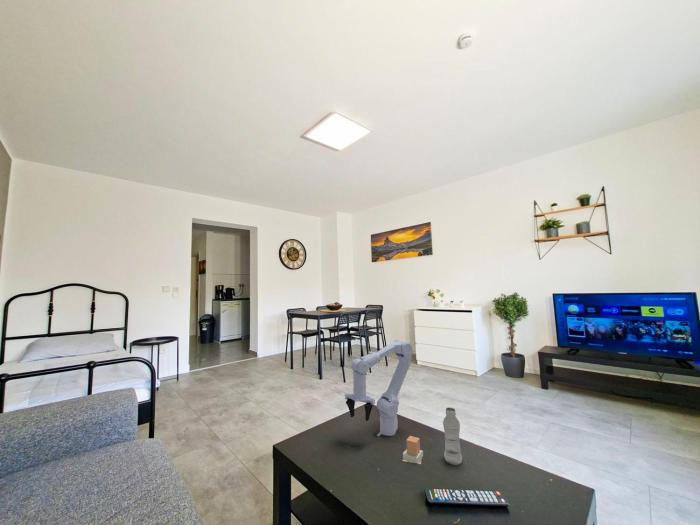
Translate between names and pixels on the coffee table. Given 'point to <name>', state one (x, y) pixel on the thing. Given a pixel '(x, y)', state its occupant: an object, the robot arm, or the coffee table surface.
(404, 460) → the bottom slab
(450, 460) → the plastic bottle
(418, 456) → the top slab
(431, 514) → the coffee table surface
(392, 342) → the robot arm
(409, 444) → the block
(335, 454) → the coffee table surface
